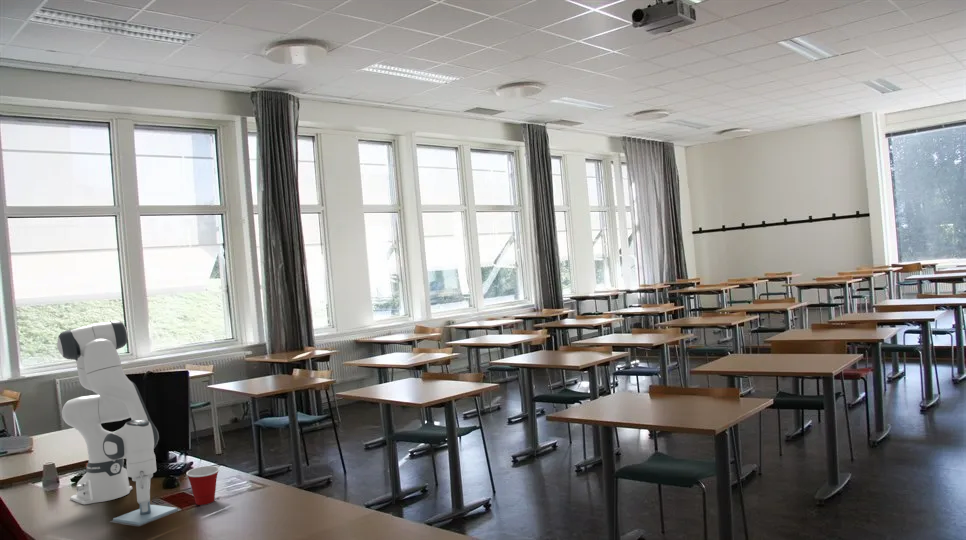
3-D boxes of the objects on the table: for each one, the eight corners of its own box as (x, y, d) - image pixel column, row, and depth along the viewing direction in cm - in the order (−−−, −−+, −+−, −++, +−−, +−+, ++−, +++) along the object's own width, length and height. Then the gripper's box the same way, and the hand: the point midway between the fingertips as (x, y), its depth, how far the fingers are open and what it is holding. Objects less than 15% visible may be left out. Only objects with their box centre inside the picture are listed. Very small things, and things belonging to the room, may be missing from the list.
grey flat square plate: (108, 523, 227) (108, 521, 227) (152, 507, 241) (152, 505, 241) (138, 528, 220) (138, 526, 220) (182, 511, 234) (182, 509, 234)
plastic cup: (199, 511, 232) (196, 475, 232) (182, 507, 238) (179, 472, 239) (228, 501, 241) (225, 466, 241) (211, 497, 247) (208, 464, 247)
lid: (113, 520, 228) (112, 506, 228) (151, 506, 240) (150, 493, 240) (139, 524, 221) (138, 510, 221) (177, 510, 233) (176, 496, 233)
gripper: (152, 473, 223) (155, 515, 223) (152, 460, 241) (155, 499, 241) (130, 477, 220) (133, 520, 220) (132, 464, 238) (135, 503, 238)
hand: (145, 509), depth 231 cm, fingers closed on lid, 3 cm apart
